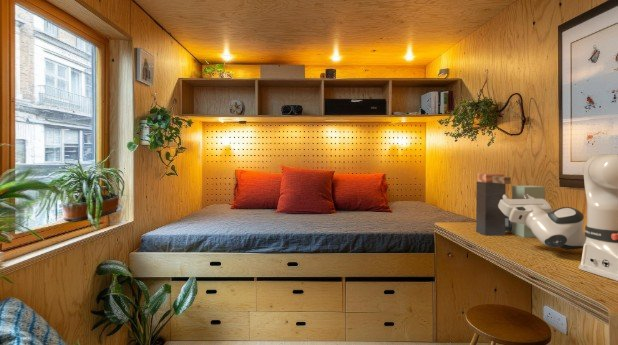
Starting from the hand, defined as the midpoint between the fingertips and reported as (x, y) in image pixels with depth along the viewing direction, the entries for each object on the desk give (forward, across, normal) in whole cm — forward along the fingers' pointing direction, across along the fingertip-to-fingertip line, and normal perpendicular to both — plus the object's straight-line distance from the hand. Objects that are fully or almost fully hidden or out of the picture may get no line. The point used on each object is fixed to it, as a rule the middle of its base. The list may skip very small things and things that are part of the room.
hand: (514, 195), depth 157 cm
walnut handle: (+16, 0, +3) cm, 16 cm away
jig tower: (+6, 0, +28) cm, 28 cm away
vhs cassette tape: (+13, -10, +32) cm, 36 cm away
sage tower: (+1, -15, +25) cm, 29 cm away
